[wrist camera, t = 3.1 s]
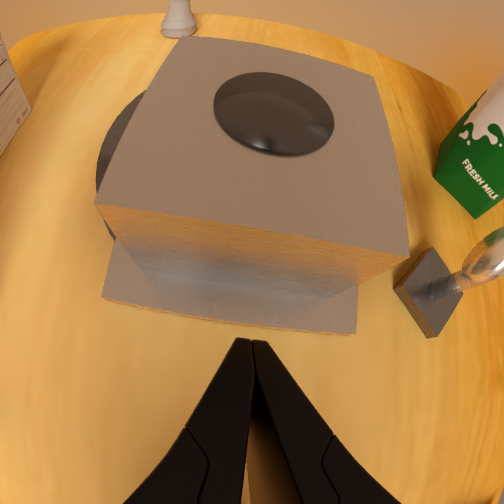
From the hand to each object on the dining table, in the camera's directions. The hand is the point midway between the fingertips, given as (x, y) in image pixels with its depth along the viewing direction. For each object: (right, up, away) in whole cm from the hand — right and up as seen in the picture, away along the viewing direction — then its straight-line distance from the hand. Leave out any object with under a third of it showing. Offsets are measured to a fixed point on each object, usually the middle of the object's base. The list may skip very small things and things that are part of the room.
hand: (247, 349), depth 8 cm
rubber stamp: (+14, -1, +12) cm, 18 cm away
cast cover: (0, +6, +11) cm, 13 cm away
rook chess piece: (-9, +29, +19) cm, 36 cm away
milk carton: (+23, +11, +17) cm, 31 cm away
